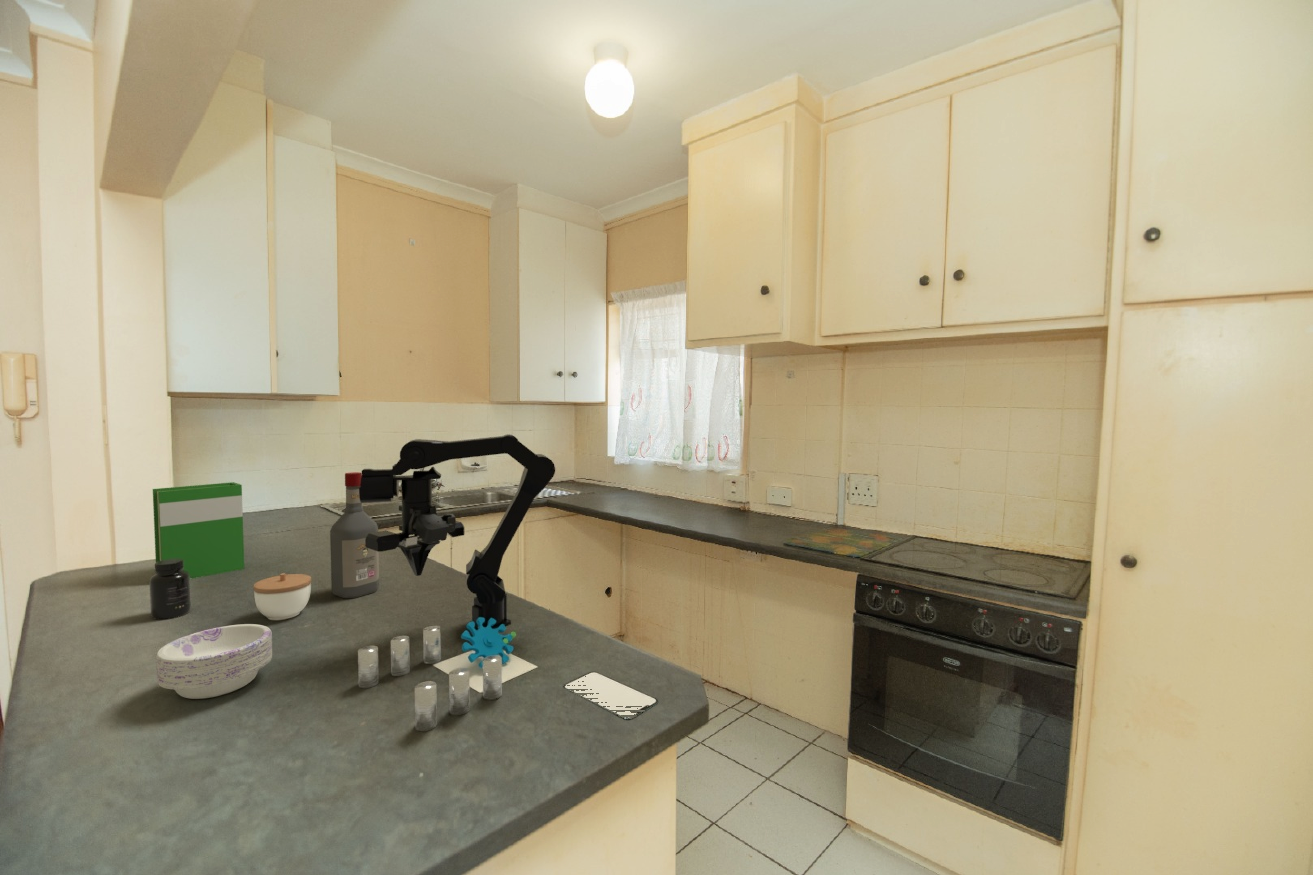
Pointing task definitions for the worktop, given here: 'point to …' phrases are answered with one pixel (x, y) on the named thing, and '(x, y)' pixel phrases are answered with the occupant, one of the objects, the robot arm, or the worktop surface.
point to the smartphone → (611, 693)
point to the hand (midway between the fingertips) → (417, 575)
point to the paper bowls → (214, 660)
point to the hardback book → (200, 527)
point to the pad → (509, 669)
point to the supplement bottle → (170, 590)
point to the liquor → (353, 547)
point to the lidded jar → (282, 595)
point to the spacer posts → (428, 689)
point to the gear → (487, 641)
